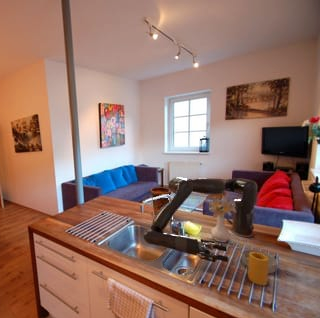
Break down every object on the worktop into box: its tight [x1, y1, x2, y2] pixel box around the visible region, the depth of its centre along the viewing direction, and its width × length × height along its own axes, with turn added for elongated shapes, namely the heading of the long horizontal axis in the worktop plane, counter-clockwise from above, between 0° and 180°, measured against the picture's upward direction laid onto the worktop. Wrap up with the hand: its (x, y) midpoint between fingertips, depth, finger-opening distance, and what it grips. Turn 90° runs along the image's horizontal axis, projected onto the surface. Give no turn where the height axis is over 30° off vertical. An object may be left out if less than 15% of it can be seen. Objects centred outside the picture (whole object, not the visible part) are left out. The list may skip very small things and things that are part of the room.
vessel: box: [150, 186, 172, 218], centre depth 151 cm, size 14×14×20 cm
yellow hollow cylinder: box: [247, 252, 269, 286], centre depth 84 cm, size 6×6×11 cm
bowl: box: [241, 248, 278, 274], centre depth 93 cm, size 12×12×4 cm
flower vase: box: [208, 194, 236, 243], centre depth 113 cm, size 13×18×25 cm
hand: (227, 253), depth 89 cm, fingers open, 8 cm apart
